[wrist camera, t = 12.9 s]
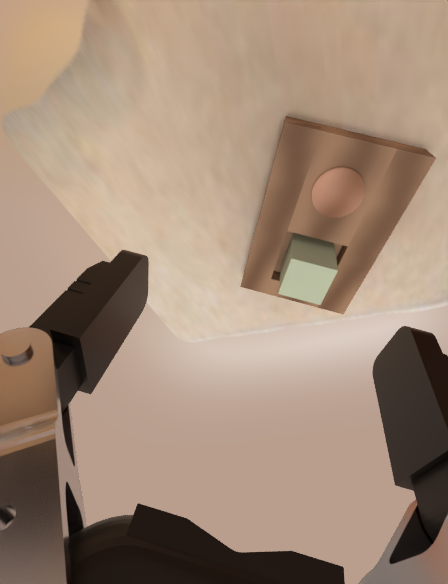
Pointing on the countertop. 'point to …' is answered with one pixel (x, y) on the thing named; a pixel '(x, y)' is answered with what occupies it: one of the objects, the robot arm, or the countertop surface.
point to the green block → (308, 269)
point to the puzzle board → (342, 231)
